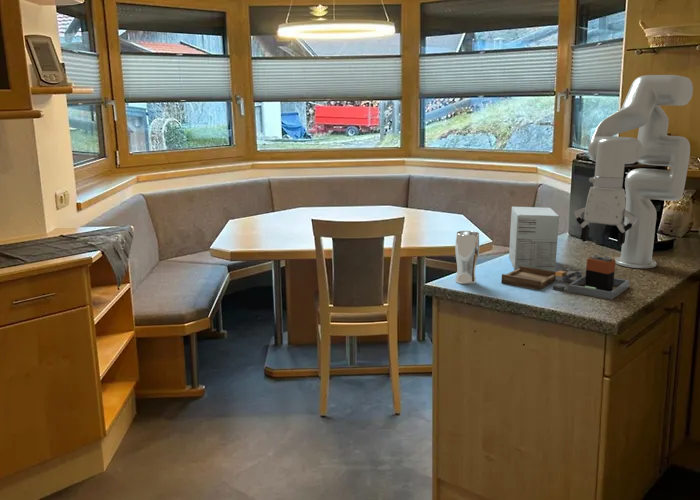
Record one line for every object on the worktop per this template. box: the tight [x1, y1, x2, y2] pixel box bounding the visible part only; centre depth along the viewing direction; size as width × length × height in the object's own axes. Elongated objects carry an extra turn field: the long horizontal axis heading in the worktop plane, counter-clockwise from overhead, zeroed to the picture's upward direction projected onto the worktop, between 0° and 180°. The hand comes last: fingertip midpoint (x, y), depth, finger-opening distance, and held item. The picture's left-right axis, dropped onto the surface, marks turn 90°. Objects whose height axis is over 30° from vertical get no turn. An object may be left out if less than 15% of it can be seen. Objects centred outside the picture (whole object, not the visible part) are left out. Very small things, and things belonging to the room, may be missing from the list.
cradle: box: [567, 273, 630, 301], centre depth 194 cm, size 16×12×2 cm
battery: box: [584, 254, 616, 292], centre depth 194 cm, size 4×7×10 cm, turn 42°
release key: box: [555, 270, 578, 281], centre depth 198 cm, size 12×2×2 cm, turn 142°
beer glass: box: [454, 230, 480, 285], centre depth 200 cm, size 7×7×15 cm
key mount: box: [552, 267, 583, 292], centre depth 199 cm, size 14×5×3 cm, turn 142°
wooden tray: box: [500, 266, 558, 291], centre depth 202 cm, size 13×12×3 cm
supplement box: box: [508, 206, 560, 272], centre depth 220 cm, size 17×13×18 cm
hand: (602, 243), depth 191 cm, fingers open, 9 cm apart
